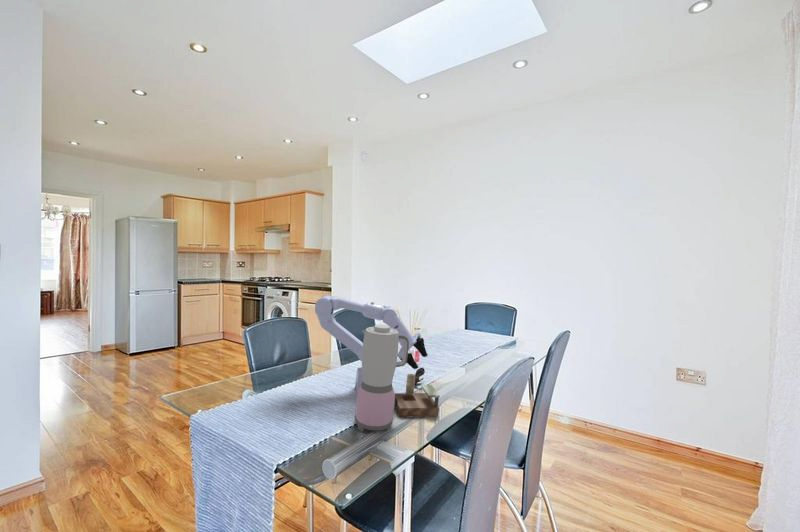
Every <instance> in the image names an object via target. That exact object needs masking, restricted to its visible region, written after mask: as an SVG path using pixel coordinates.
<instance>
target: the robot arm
mask: <svg viewBox="0 0 800 532" xmlns="http://www.w3.org/2000/svg"><path fill="white" fill-rule="evenodd" d="M314 306H315V307H314V313H315V315H316V316H317V318H318V321H319V324H320V325H319V326H320V327H321V328H322V329H323V330H325V331H326V332H327V333H328V334H329V335H331V336H332V337H334V338H335V339H336V340H337V341H338V342H340V343H341V344H343V345H344V346H345V347H346V348H347V349H349V350H350V351H351V352H352V353H354V354H355V355H356V356H357V358H358V360H359V361H361V362H362V349H363V342H362V341H361V340H360V339H359V338H357V337H356V336H355V335H354V334H353V333H351V332H350V331H349V330H348V329H346V328H345V327H344V326H343V325H342V324H340V323H339V322H338V321H336V320H335V318H334V312H335V311H338V310H340V309H344V310H349V311H354V312H356V313H357V312H359V313H362V315H363V316H364V317H365V318H368V319H373V320H376V321H382V322H383V323H384V325H388V326H390V328H392V329H395V330H397V331H398V332H399V335H402V336H405V337H407V338H408V341H409V348H408V351H410V349H411V348H412V347H414V348H415V349H416V350H417V352H418V353H419V354H420V355H421V357H423V358H427V357H428V353H427V351H426V346H425V339H424V337H422V335H421V333H420V332H416V333H415V334H414V335H412V334H411V333H410V331H409V330H408V328H407V326H406V325H405V324H404V322H403V320H401V318H400V317H399V316H398V315H397V314H398V313H397V312H396V309H394V308H393V307H391V306H387V305H380V304H375V301H370V302H366V303H365V304H363V303H360V302H358V301H353V300H350V299H347V298H344V297H340V296H337V295H336V296H335V295H331V294H324V295H322V296H321V297H320V298H319V299H317V300H316V302H315V304H314ZM398 345H400V346H401V347H400V349H399V350H398V355H397V358H398V359H399V361H402V356H403V346H404V342H403V341H399V340H398ZM406 365H409V366H410V367H411V368H412V369H413V370H418V369H419V366H418V364H417V362H416V360H415V359H414V356H413V352H408V357H407V363H406ZM355 375H356V376H355V383H354V386H355V390H356V394H357V393H358V390H359V388H360V386H361V384H362V381H363V374H362V366H361V367H357V369H356V374H355Z"/></svg>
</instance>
